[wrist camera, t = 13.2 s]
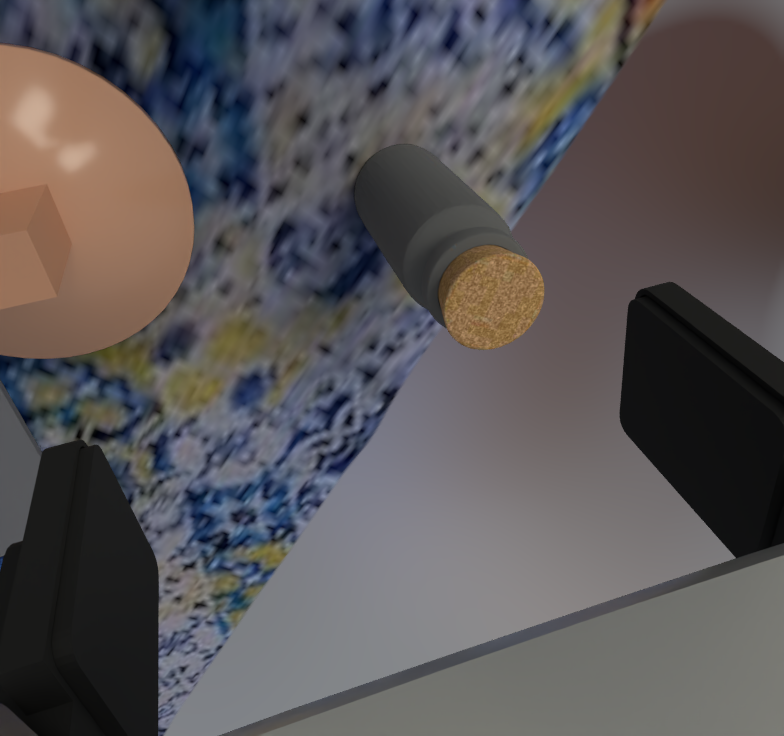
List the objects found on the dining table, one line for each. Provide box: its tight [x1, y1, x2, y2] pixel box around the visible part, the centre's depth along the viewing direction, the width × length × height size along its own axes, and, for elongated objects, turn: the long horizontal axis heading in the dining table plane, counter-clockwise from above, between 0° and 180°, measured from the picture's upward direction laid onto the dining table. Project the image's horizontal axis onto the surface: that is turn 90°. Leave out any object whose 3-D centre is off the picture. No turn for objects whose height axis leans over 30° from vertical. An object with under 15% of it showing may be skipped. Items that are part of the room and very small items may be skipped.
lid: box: [0, 43, 194, 359], centre depth 32 cm, size 16×16×7 cm
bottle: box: [354, 144, 544, 350], centre depth 36 cm, size 6×6×15 cm
